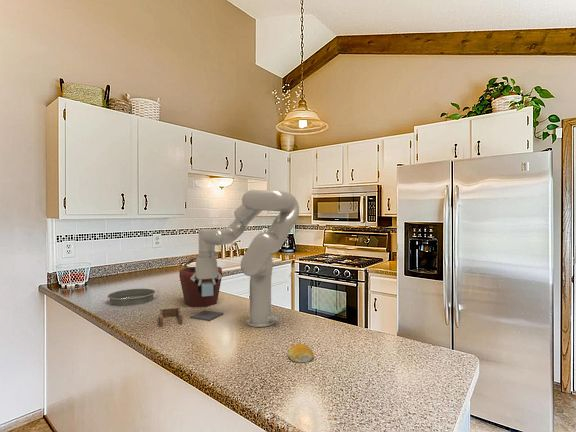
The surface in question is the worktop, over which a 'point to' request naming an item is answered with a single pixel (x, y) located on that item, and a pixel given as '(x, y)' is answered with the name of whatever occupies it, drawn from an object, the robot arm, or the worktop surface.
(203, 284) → the block
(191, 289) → the bucket
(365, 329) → the worktop surface
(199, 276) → the robot arm
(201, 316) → the mat
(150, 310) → the worktop surface
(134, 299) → the cake pan
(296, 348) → the bread roll
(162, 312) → the shelf bay
